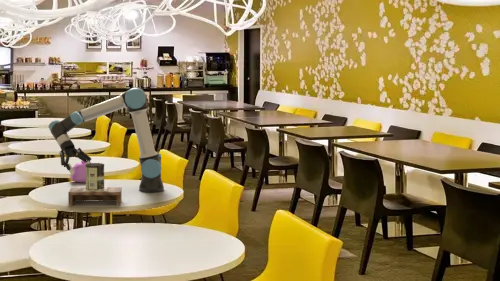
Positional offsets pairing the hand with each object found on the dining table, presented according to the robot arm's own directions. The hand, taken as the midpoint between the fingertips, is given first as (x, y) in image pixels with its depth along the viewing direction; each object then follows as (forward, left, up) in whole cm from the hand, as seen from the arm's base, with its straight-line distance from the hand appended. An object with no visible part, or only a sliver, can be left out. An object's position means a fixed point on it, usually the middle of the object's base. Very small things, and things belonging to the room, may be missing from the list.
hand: (83, 172), depth 393 cm
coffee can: (-7, +8, -8) cm, 14 cm away
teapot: (+3, -58, -16) cm, 60 cm away
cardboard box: (-8, +8, -16) cm, 19 cm away
